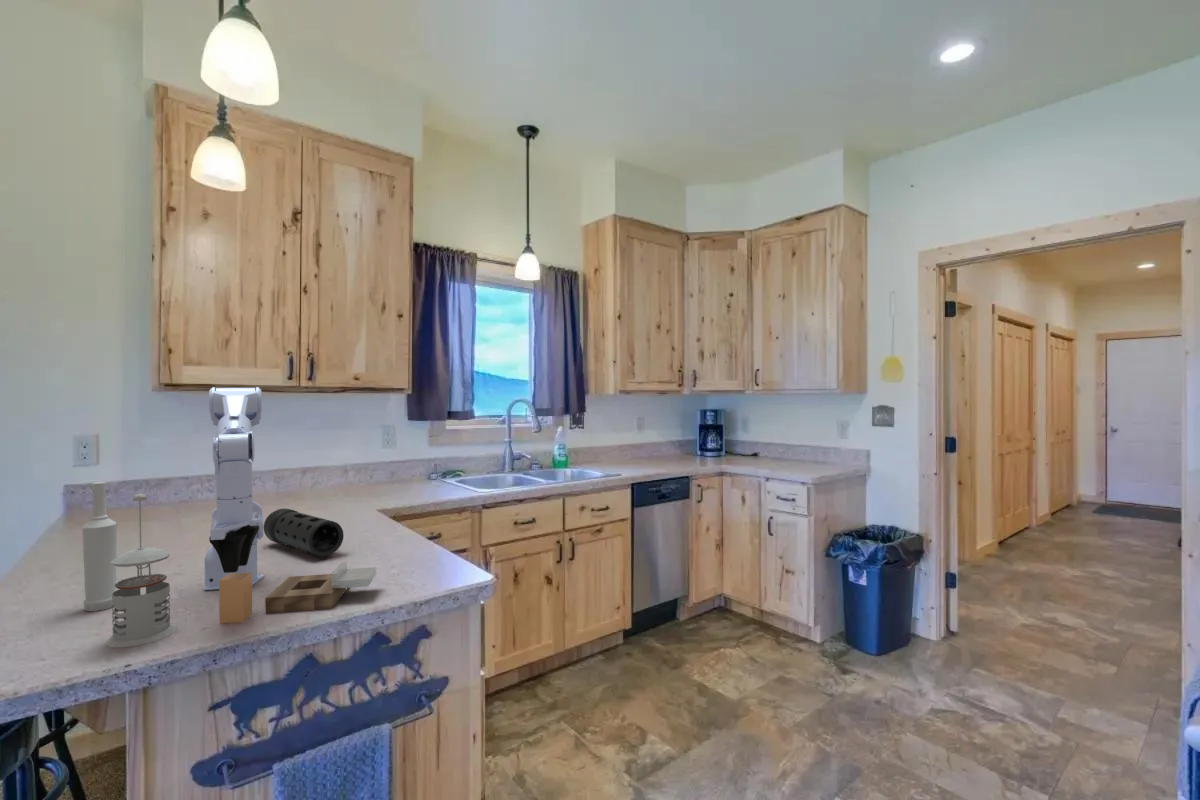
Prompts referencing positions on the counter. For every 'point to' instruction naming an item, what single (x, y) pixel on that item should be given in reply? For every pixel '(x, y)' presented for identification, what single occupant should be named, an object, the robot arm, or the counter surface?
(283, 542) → the muzzle brake
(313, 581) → the socket plate
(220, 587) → the tan cardboard box
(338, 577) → the grey stepped block
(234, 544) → the robot arm
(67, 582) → the counter surface
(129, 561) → the french press
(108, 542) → the bottle
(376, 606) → the counter surface
